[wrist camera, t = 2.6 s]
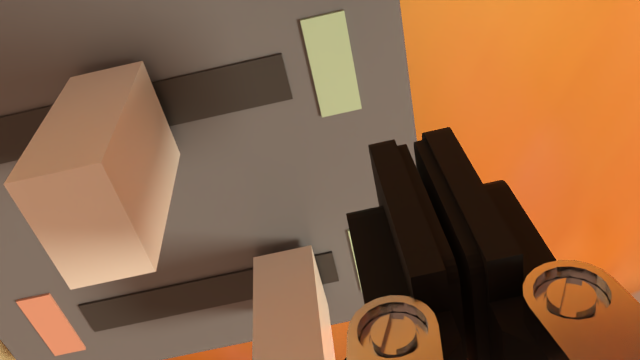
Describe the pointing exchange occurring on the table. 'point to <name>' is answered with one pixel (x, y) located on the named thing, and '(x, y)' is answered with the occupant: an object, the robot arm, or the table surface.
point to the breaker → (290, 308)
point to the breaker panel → (206, 159)
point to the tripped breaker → (99, 177)
